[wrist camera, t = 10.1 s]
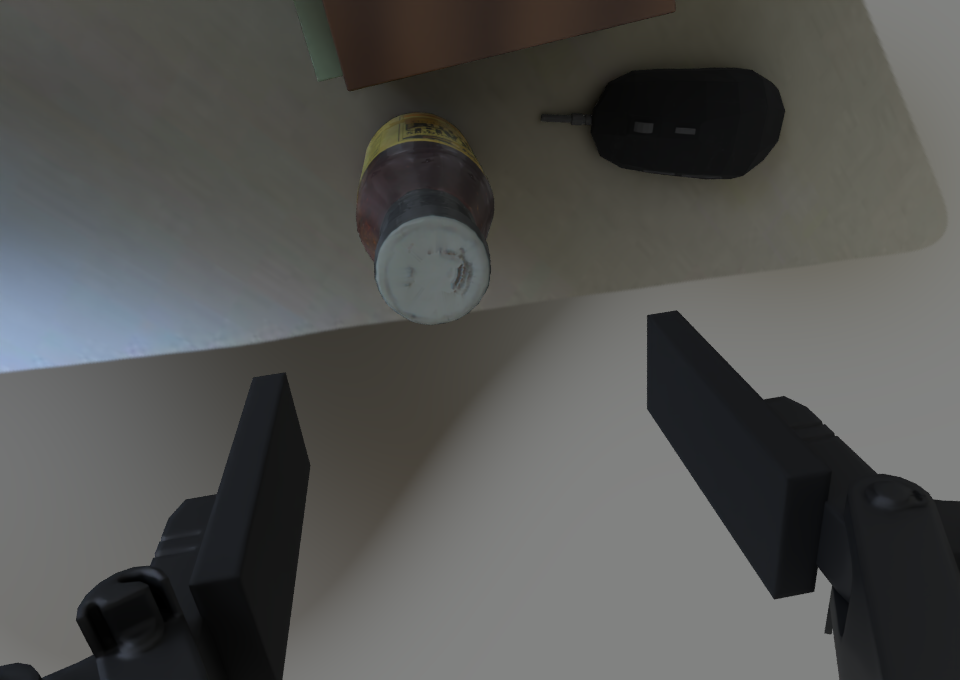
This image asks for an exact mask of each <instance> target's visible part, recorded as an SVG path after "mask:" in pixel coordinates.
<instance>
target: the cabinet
mask: <svg viewBox="0 0 960 680" xmlns="http://www.w3.org/2000/svg"><path fill="white" fill-rule="evenodd" d="M322 3H323V7H324V10H325V14H326V17H327V21H328V24H329V28H330V31H331V35H332V38H333V42H334V45H335V49H336V52H337V56H338V59H339V62H340V66H341V69H342V73H343V76H344V80H345V83H346V87H347V90H348V91H354V90H358V89H362V88H366V87H370V86H374V85H378V84H382V83H386V82H390V81H395V80H399V79H403V78H407V77H411V76H415V75H419V74H423V73H427V72H431V71H435V70H440V69H444V68H448V67H452V66H456V65H460V64H464V63H468V62H472V61H476V60H480V59H485V58H489V57H493V56H497V55H501V54H505V53H509V52H513V51H517V50H521V49H525V48H530V47H534V46H538V45H542V44H546V43H550V42H554V41H558V40H562V39H566V38H570V37H575V36H579V35H583V34H587V33H591V32H595V31H599V30H603V29H607V28H611V27H615V26H620V25H624V24H628V23H632V22H636V21H640V20H644V19H648V18H652V17H656V16H661V15H665V14H669V13H673V12H675V11H676V6H675V0H322Z"/></svg>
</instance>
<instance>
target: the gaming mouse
mask: <svg viewBox="0 0 960 680" xmlns="http://www.w3.org/2000/svg"><path fill="white" fill-rule="evenodd" d="M784 114H785V109H784V106H783V103H782V99H781V96H780V93H779V90H778V89H777V87H776V86H775V85H774V84H773V83H772V82H770V81H769V80H767V79H766V78H764V77H762V76H761V75H759V74H758V73H756V72H754V71H753V70H749V69H741V68H698V69H653V70H638V71H631V72H629V73H627V74H625V75H623V76H621V77H619V78H617V79H615V80H613V81H611V82H609V83H608V85H607V86H606V88H605V90H604V92H603V94H602V95H601V97H600V99H599V101H598V103H597V104H596V106H595V107H594V108H593V116H591V115H587V114H586V115H585V116H583V114H576V113H572V114H571V116H570V115H546V114H542V116H541V121H547V122H571V125H582V123H583V124H585V125H590V124H592V125H591V134H592V137H593V139H594V142H595V144H596V147H597V149H598V152H599V154H600V156H602V157H603V158H605V159H607V160H608V161H610V162H612V163H614V164H615V165H617V166H619V167H621V168H625V169H630V170H636V171H642V172H647V173H654V174H663V175H672V176H681V177H691V178H700V179H732V178H736V177H740V176H743V175H745V174H746V173H747V172H749V171H750V170H751V169H753V168H754V167H755V166H756V165H758V164H759V163H760V162H762V161H763V160H764V159H765V157H766V156H767V155H768V153H769V152H770V151H771V150H772V148H773V147H774V146H775V144H776V143H777V142H778V140H779V136H780V131H781V127H782V122H783V118H784Z"/></svg>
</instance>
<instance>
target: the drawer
mask: <svg viewBox="0 0 960 680" xmlns="http://www.w3.org/2000/svg"><path fill="white" fill-rule="evenodd" d="M293 1H294V4H295V8H296V11H297V14H298V17H299V21H300V24H301V27H302V31H303V34H304V37H305V41H306V44H307V47H308V50H309V54H310V57H311V60H312V64H313V67H314V70H315V74H316V77H317V80H318V81H319V82H320V81H324V80H328V79H332V78H336V77H340V76H343V73H342V69H341V66H340V62H339V59H338V56H337V52H336V49H335V45H334V42H333V38H332V35H331V31H330V28H329V24H328V21H327V17H326V14H325V10H324V7H323V3H322V0H293Z"/></svg>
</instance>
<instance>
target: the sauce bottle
mask: <svg viewBox="0 0 960 680" xmlns="http://www.w3.org/2000/svg"><path fill="white" fill-rule="evenodd" d="M493 215H494V197H493V192H492V189H491V186H490V184H489V181H488V178H487V177H486V175H485V174H484V172H483V170H482V167H481V166H480V164H479V162H478V161H477V159H476V157H475V155H474V153H473V151H472V150H471V148H470V146H469V145H468V143H467V141H466V139H465V138H464V136H463V135H462V134H461V133H460V131H459V130H458V129H457V128H456V127H455V126H454V125H452V124H451V123H450V122H448V121H447V120H445V119H443V118H441V117H439V116H436V115H434V114H430V113H420V112H414V113H408V114H403V115H400V116H398V117H395V118H393V119H392V120H390V121H389V122H387V123H386V124H385V125H383V126H382V127H381V128H380V129H379V130H378V131H377V133H376V134H375V135H374V137H373V138H372V140H371V142H370V144H369V146H368V148H367V151H366V156H365V160H364V165H363V170H362V174H361V179H360V183H359V187H358V193H357V208H356V221H357V231H358V233H359V237H360V239H361V242H362V244H363V246H364V247H365V250H366V251H367V253H368V254H369V256H370V257H371V259H372V260H373V261H374V273H375V280H376V283H377V286H378V290H379V292H380V294H381V296H382V297H383V299H384V300H385V302H386V303H387V304H388V305H389V307H390V308H391V309H393V310H394V311H395V312H396V313H398V314H400V315H402V316H403V317H405V318H406V319H408V320H410V321H412V322H416V323H420V324H426V325H436V324H441V323H447V322H450V321H454V320H458V319H459V318H461V317H462V316H464V315H466V314H468V313H469V312H470V311H471V310H472V309H473V308H474V307H475V306H476V305H478V304H479V302H480V300H481V298H482V297H483V295H484V294H485V292H486V290H487V288H488V286H489V281H490V274H491V264H490V261H491V260H490V254H489V249H488V245H487V242H486V238H487V235H488V232H489V229H490V226H491V223H492V219H493Z"/></svg>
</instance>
